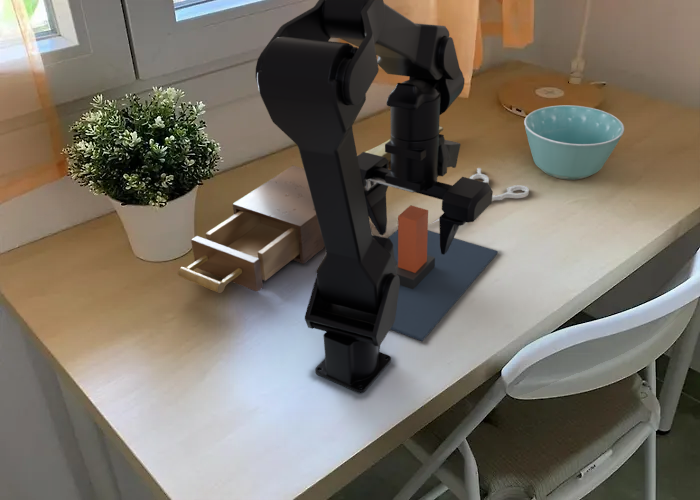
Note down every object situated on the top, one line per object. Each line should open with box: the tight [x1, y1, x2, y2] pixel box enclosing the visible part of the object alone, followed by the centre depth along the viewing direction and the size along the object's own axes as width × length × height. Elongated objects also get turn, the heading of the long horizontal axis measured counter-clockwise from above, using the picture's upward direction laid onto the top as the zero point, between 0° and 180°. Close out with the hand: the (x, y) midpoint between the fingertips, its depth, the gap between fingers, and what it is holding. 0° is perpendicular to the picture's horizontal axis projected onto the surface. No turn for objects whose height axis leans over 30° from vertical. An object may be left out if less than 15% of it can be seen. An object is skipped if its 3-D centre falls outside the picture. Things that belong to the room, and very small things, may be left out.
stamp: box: [395, 204, 435, 289], centre depth 92 cm, size 6×4×10 cm, turn 146°
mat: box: [388, 229, 499, 342], centre depth 94 cm, size 22×15×1 cm
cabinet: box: [232, 165, 325, 265], centre depth 104 cm, size 14×12×6 cm
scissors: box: [430, 167, 530, 225], centre depth 110 cm, size 11×1×20 cm
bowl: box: [523, 104, 625, 181], centre depth 117 cm, size 16×16×8 cm
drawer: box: [177, 210, 300, 294], centre depth 96 cm, size 18×11×5 cm, turn 147°
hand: (412, 242), depth 91 cm, fingers open, 9 cm apart
